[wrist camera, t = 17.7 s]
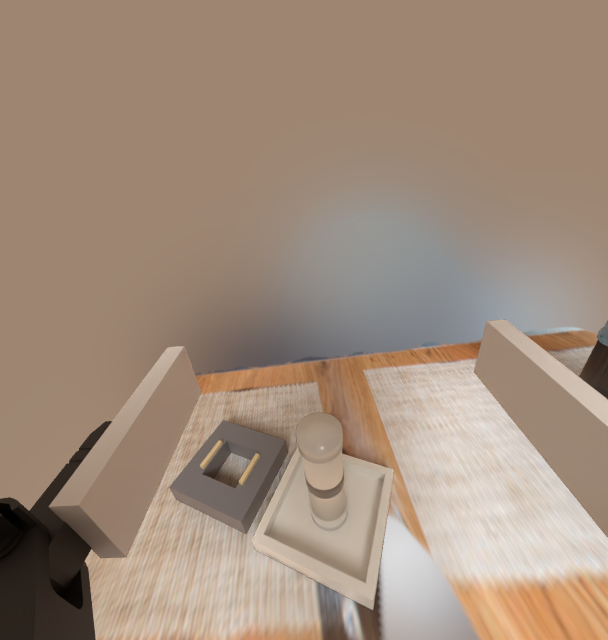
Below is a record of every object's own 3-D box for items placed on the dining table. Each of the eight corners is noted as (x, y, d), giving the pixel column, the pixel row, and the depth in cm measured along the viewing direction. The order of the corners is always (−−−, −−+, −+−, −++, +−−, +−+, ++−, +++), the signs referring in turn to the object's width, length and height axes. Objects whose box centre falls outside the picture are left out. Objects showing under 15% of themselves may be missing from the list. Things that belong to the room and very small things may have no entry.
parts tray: (301, 450, 44) (300, 440, 43) (393, 480, 39) (393, 469, 38) (255, 549, 33) (251, 540, 32) (373, 610, 28) (373, 601, 27)
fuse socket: (227, 432, 49) (222, 417, 47) (287, 452, 44) (284, 437, 43) (176, 499, 40) (167, 484, 38) (246, 534, 35) (240, 519, 33)
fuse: (318, 485, 39) (306, 408, 31) (352, 498, 37) (348, 418, 29) (304, 521, 35) (287, 443, 28) (341, 537, 33) (333, 458, 26)
